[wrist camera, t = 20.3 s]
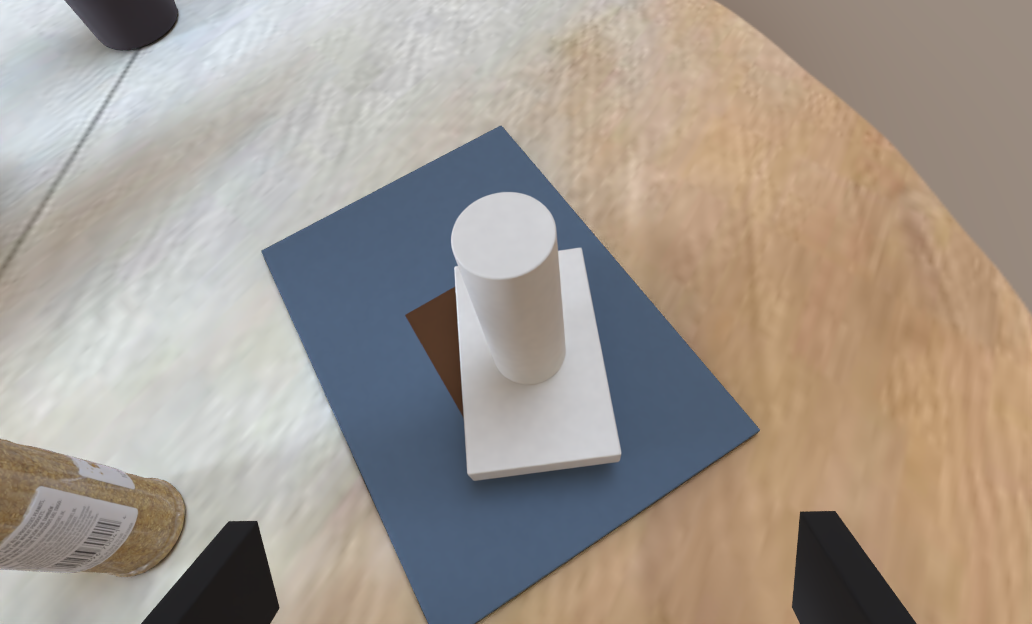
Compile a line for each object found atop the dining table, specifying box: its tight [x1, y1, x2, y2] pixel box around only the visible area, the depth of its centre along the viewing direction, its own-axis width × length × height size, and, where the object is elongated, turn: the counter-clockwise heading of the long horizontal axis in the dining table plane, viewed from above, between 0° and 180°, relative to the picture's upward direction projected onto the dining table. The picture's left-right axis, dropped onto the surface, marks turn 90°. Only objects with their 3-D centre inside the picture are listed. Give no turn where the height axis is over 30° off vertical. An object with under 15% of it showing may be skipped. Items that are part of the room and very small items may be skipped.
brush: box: [451, 192, 621, 481], centre depth 23 cm, size 7×11×12 cm, turn 6°
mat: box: [261, 126, 760, 624], centre depth 30 cm, size 24×17×1 cm
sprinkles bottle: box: [0, 439, 185, 577], centre depth 22 cm, size 5×5×14 cm
